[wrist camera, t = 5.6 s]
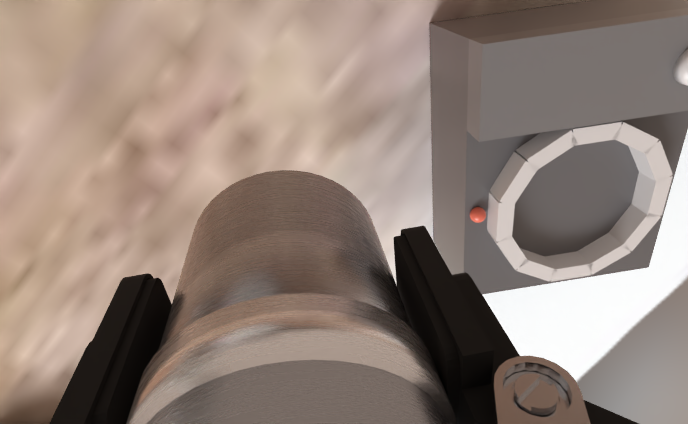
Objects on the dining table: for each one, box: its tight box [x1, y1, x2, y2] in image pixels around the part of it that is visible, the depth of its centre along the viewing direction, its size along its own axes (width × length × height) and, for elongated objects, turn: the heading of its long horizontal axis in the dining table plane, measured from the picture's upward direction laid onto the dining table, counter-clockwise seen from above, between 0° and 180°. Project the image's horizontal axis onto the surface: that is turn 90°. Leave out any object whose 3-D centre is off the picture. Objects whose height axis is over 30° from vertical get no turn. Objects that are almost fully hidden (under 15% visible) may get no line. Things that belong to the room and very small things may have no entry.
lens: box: [126, 170, 457, 424], centre depth 9 cm, size 6×6×8 cm
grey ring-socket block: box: [429, 0, 688, 294], centre depth 24 cm, size 14×11×8 cm
